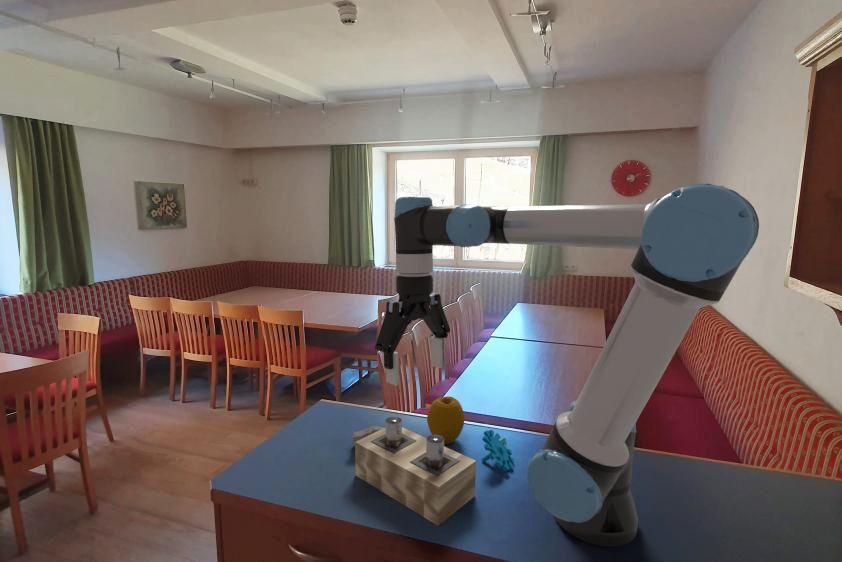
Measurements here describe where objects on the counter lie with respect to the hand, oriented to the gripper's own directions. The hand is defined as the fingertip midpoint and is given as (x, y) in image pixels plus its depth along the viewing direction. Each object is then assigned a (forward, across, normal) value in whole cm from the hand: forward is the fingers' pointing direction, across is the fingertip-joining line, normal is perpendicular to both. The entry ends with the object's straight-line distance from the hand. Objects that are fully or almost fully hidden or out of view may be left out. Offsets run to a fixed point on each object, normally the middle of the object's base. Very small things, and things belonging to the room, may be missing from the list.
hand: (415, 374), depth 93 cm
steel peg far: (+20, +1, -6) cm, 21 cm away
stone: (+25, -3, -18) cm, 31 cm away
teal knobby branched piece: (+25, -19, +8) cm, 33 cm away
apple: (+25, -19, -8) cm, 32 cm away
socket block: (+25, +1, 0) cm, 25 cm away
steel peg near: (+20, +1, +6) cm, 21 cm away
